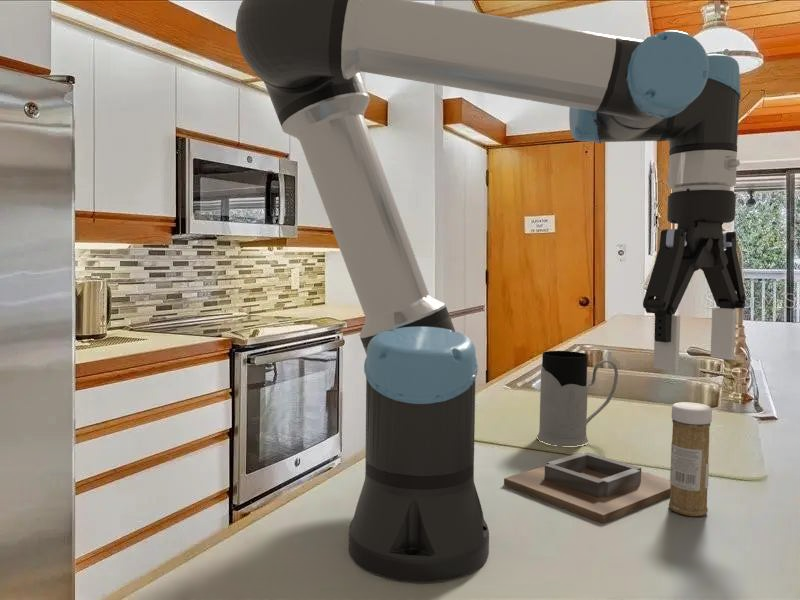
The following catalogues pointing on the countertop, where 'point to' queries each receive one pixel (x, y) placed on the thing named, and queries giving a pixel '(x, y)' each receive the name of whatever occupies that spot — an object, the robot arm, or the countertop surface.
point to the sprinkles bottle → (690, 458)
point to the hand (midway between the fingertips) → (695, 364)
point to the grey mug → (566, 397)
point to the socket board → (592, 486)
